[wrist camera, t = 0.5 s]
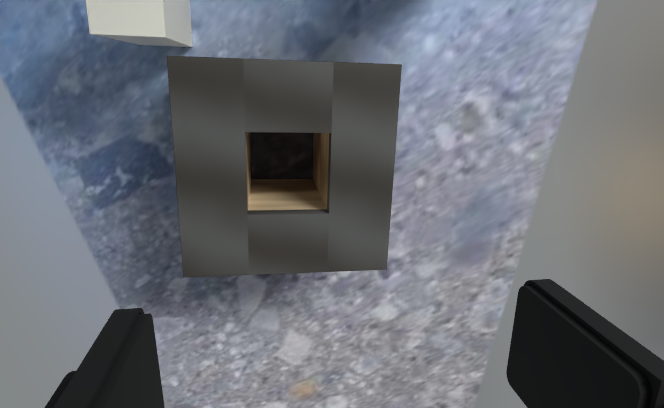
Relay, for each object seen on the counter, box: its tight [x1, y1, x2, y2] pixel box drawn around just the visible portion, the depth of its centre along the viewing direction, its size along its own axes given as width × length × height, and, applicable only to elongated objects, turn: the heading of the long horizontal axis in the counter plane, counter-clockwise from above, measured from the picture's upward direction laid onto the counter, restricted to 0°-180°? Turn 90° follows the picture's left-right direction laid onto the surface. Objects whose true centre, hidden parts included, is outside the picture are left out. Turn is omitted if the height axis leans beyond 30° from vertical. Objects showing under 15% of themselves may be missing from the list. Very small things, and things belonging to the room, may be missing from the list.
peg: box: [86, 0, 193, 47], centre depth 28 cm, size 4×4×10 cm
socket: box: [167, 56, 402, 277], centre depth 33 cm, size 14×14×10 cm
